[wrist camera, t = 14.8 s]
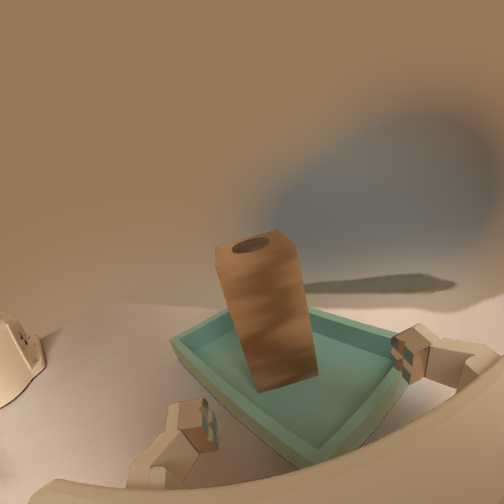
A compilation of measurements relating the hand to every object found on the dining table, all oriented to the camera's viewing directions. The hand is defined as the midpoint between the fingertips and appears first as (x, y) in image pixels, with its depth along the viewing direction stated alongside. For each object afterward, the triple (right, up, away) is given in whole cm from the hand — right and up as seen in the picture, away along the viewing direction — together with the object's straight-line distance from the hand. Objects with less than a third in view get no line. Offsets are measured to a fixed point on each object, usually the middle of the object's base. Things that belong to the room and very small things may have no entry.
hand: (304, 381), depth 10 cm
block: (0, -5, +12) cm, 13 cm away
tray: (+1, -5, +12) cm, 13 cm away
